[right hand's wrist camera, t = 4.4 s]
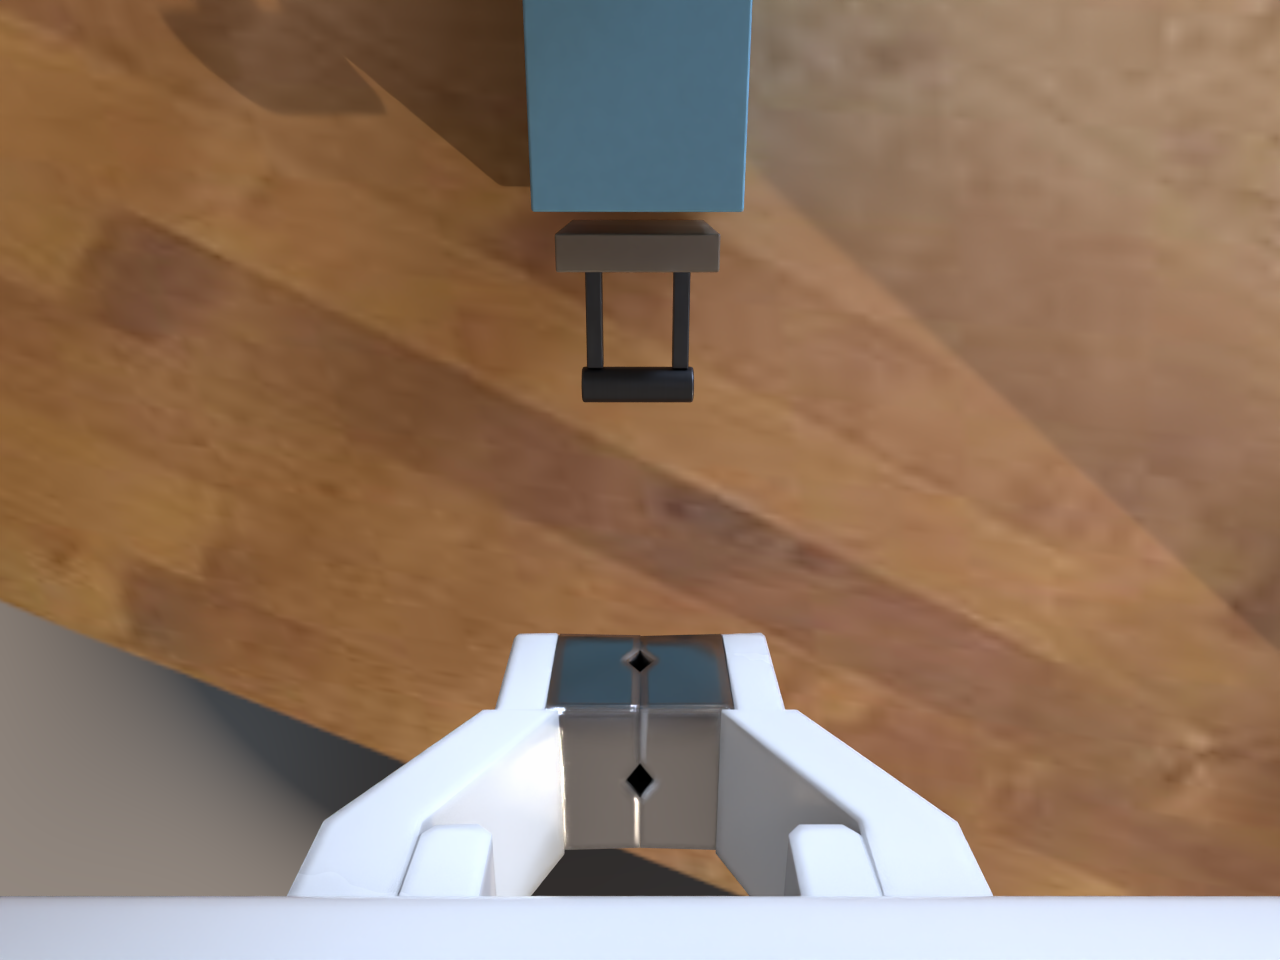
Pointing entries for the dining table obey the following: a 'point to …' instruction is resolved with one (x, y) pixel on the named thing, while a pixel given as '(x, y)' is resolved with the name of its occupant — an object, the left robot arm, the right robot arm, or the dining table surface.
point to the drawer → (637, 251)
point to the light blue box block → (637, 104)
